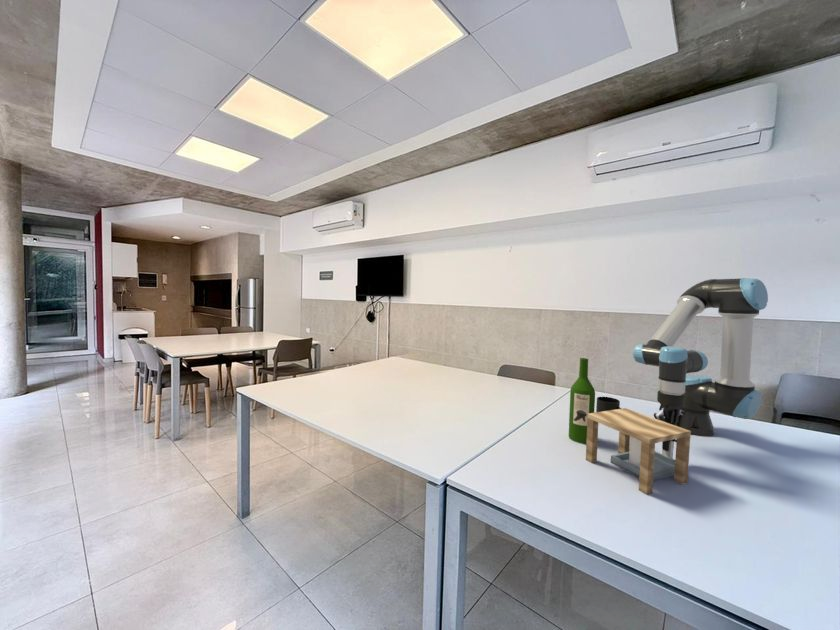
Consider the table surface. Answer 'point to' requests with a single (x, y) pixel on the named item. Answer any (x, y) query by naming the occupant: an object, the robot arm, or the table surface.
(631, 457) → the beverage can
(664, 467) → the tray
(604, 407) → the mug
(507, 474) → the table surface
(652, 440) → the small wooden table
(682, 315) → the robot arm
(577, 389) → the wine bottle
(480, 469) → the table surface
